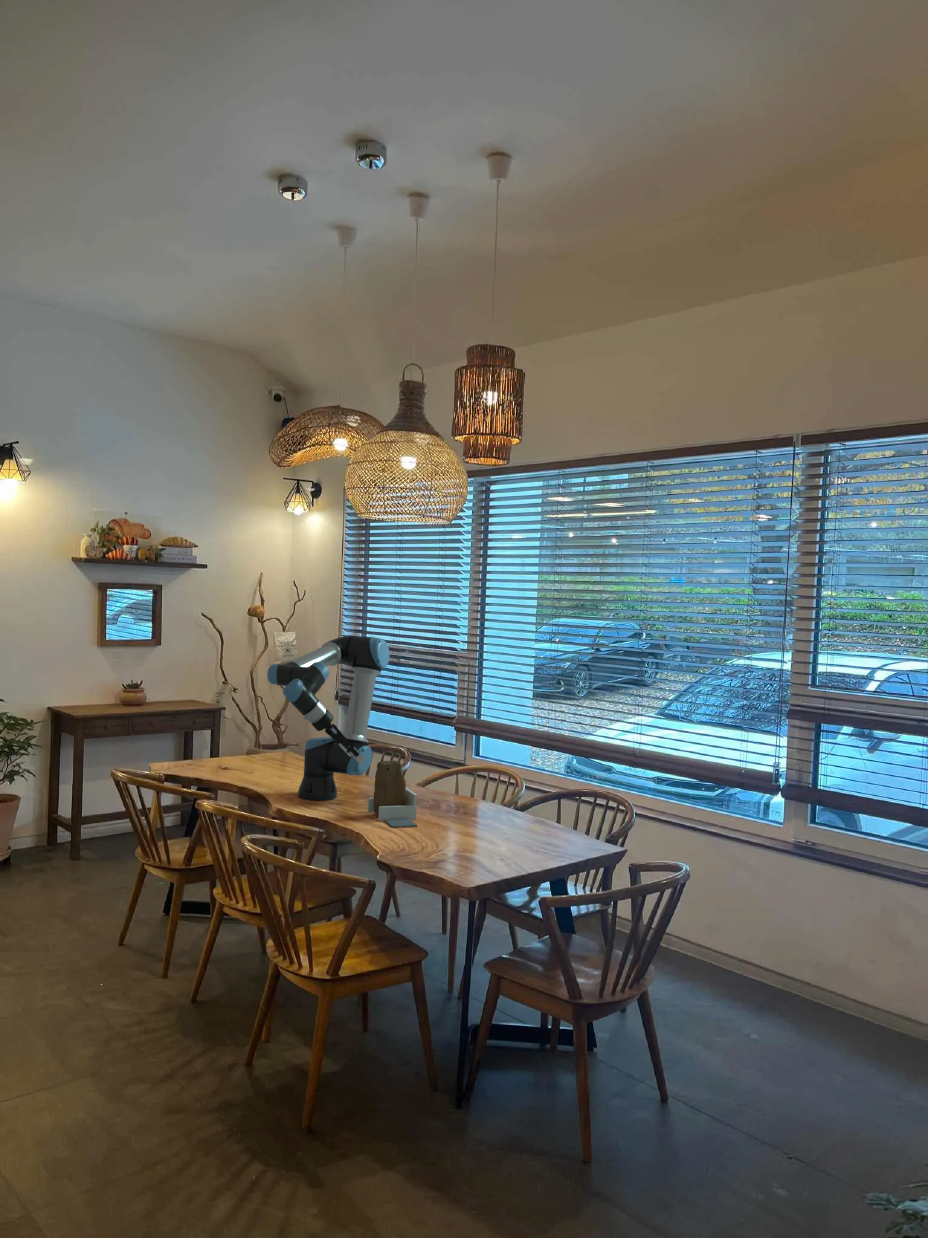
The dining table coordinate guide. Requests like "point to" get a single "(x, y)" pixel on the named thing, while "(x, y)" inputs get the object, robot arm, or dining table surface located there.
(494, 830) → the dining table surface
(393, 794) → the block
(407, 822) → the mat
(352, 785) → the dining table surface
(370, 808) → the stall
